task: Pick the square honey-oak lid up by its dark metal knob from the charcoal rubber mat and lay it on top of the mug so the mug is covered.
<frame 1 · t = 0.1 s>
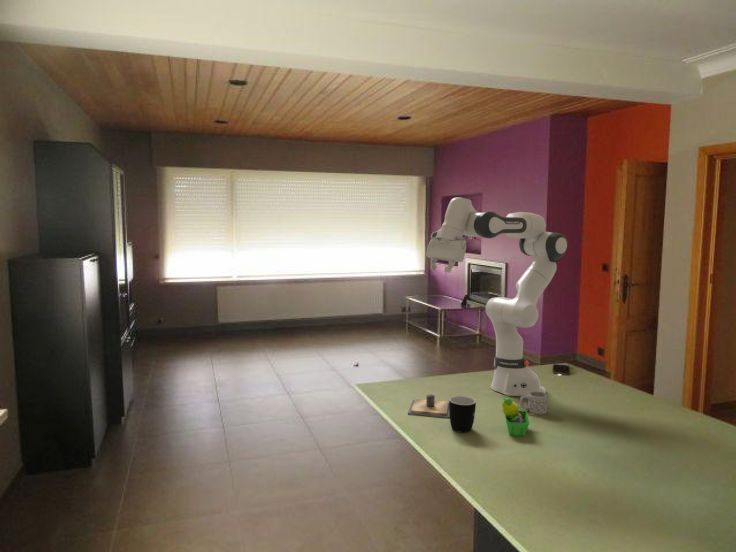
hand: (439, 271, 202), 52 cm above the table, tool tilted 20°, fingers open, 8 cm apart
fruit basket: (514, 430, 180), on the table
mug 2: (532, 411, 198), on the table
mug: (460, 427, 181), on the table
lid: (430, 401, 198), on the mat
mat: (430, 409, 198), on the table
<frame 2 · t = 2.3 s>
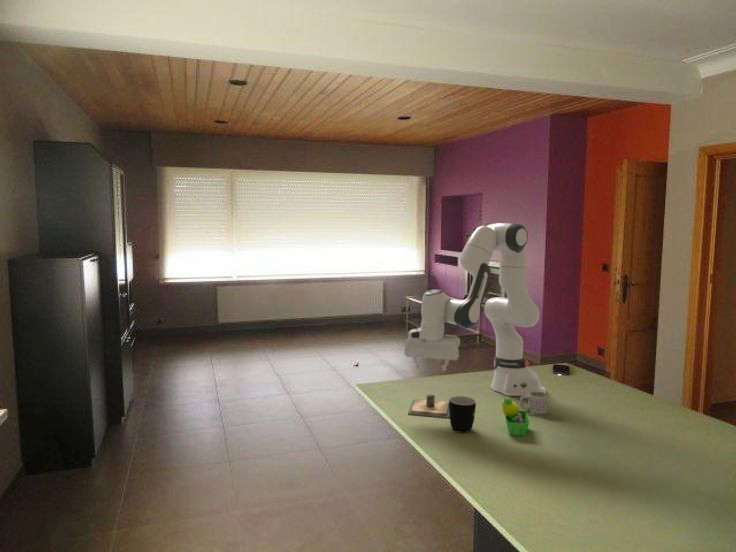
hand: (430, 369, 197), 15 cm above the table, tool pointing down, fingers open, 8 cm apart
nothing on the table moved.
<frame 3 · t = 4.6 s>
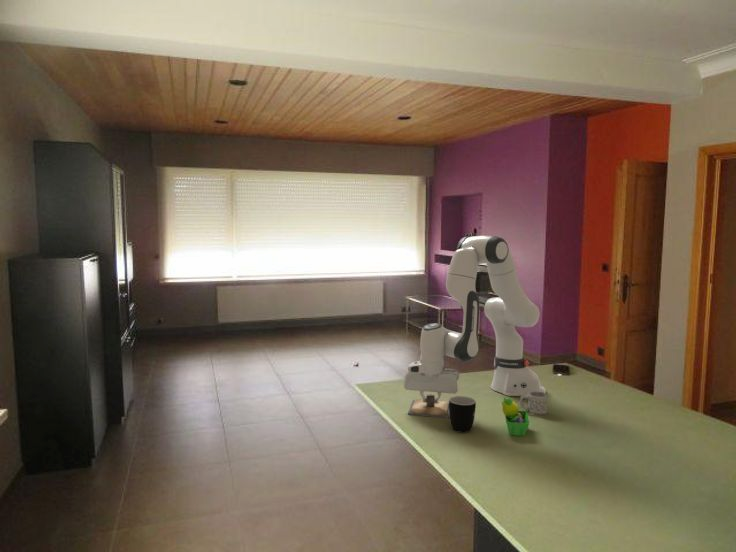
hand: (430, 402, 198), 3 cm above the table, tool pointing down, fingers closed on lid, 3 cm apart
lid: (430, 401, 198), on the mat, touching gripper
everything else where it was.
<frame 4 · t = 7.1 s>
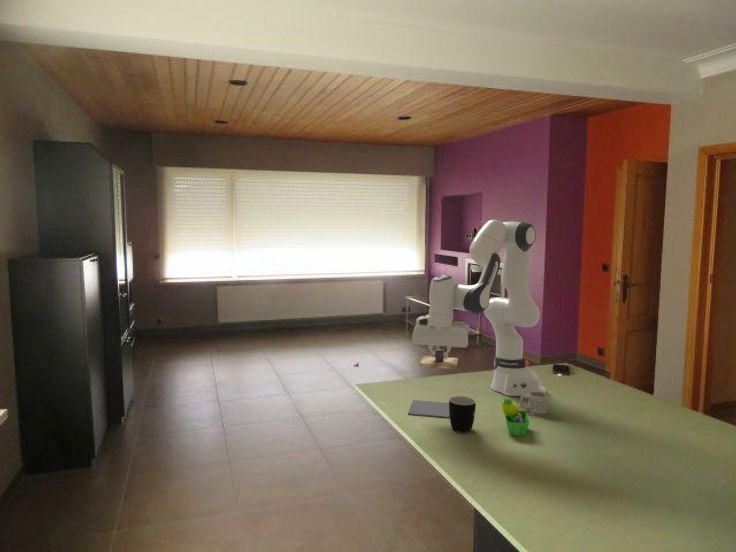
hand: (439, 357, 191), 21 cm above the table, tool pointing down, fingers closed on lid, 3 cm apart
lid: (439, 356, 191), point 22 cm above the table, touching gripper
everything else where it was.
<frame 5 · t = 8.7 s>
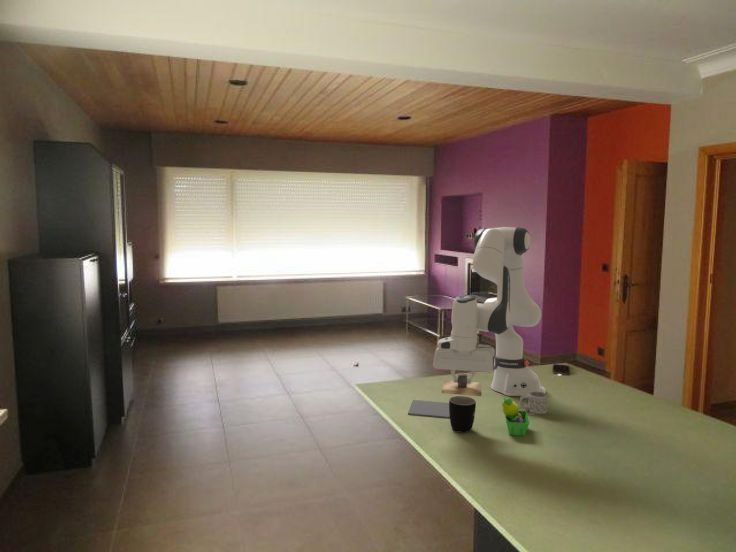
hand: (462, 382, 180), 16 cm above the table, tool pointing down, fingers closed on lid, 3 cm apart
lid: (462, 381, 180), point 16 cm above the table, touching gripper
everything else where it was.
when the fingers open (13 cm above the table, at t = 9.8 s): lid drops 1 cm, resting on mug.
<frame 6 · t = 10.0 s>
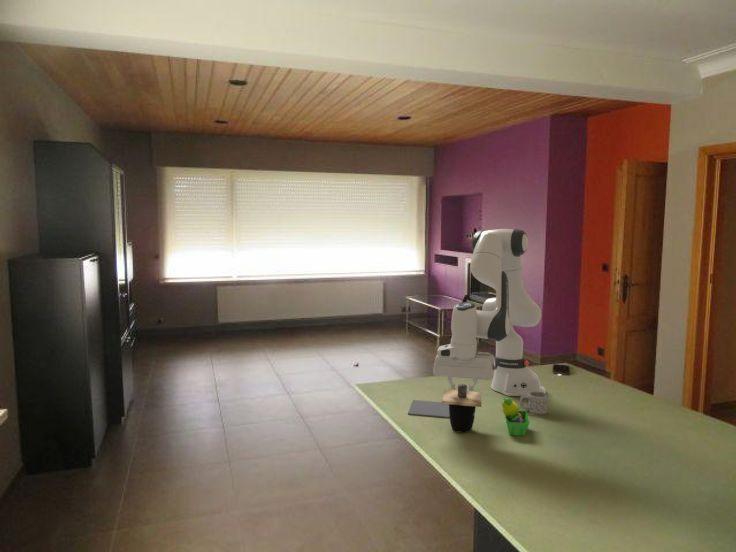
hand: (462, 389, 180), 13 cm above the table, tool pointing down, fingers open, 5 cm apart
mug: (460, 427, 181), on the table, touching lid
lid: (462, 392, 180), point 12 cm above the table, touching mug
everything else where it was.
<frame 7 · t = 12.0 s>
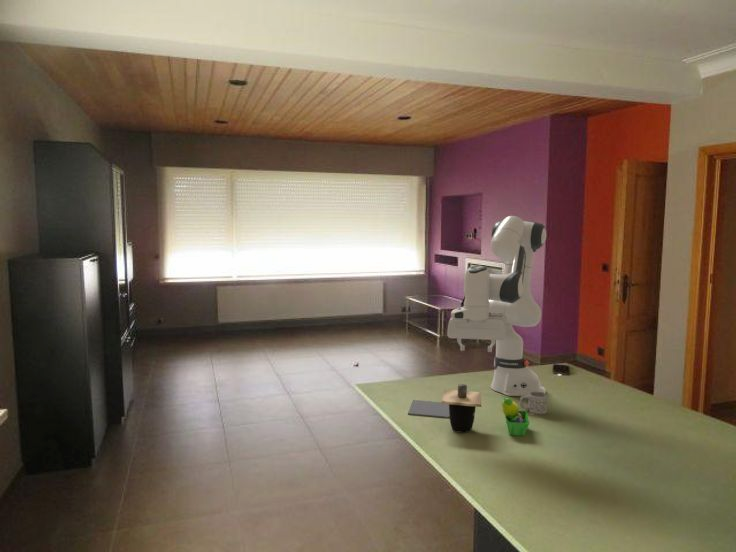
hand: (476, 351, 185), 25 cm above the table, tool pointing down, fingers open, 8 cm apart
nothing on the table moved.
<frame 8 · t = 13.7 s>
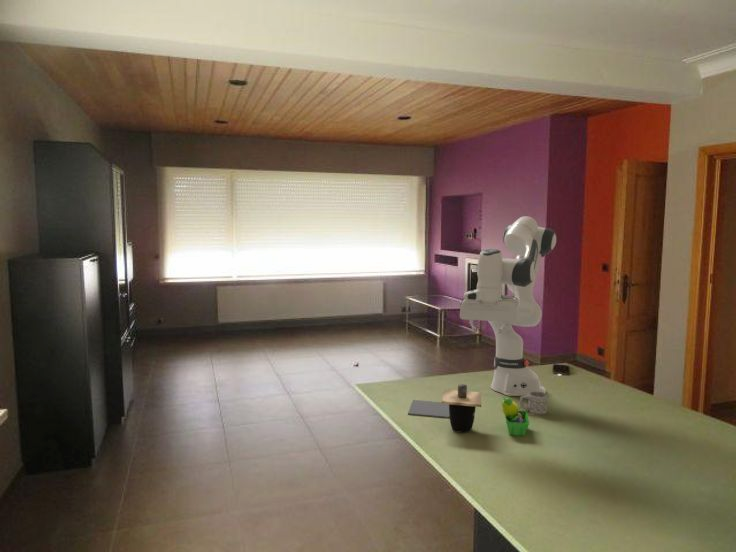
hand: (487, 332, 189), 31 cm above the table, tool pointing down, fingers open, 8 cm apart
nothing on the table moved.
at the end: lid 0.1 cm from the mug (horizontally); lid point 12.5 cm above the table; lid touching mug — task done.
